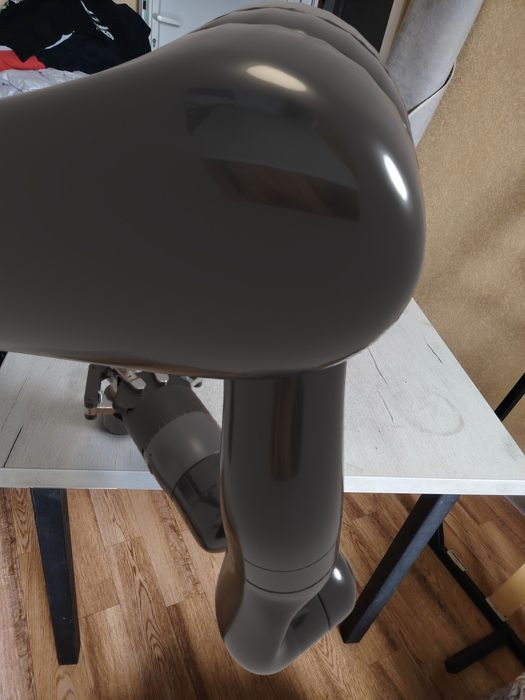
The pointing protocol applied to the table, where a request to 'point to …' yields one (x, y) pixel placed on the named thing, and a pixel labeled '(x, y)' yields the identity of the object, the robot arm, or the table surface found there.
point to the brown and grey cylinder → (109, 420)
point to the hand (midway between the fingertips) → (113, 339)
